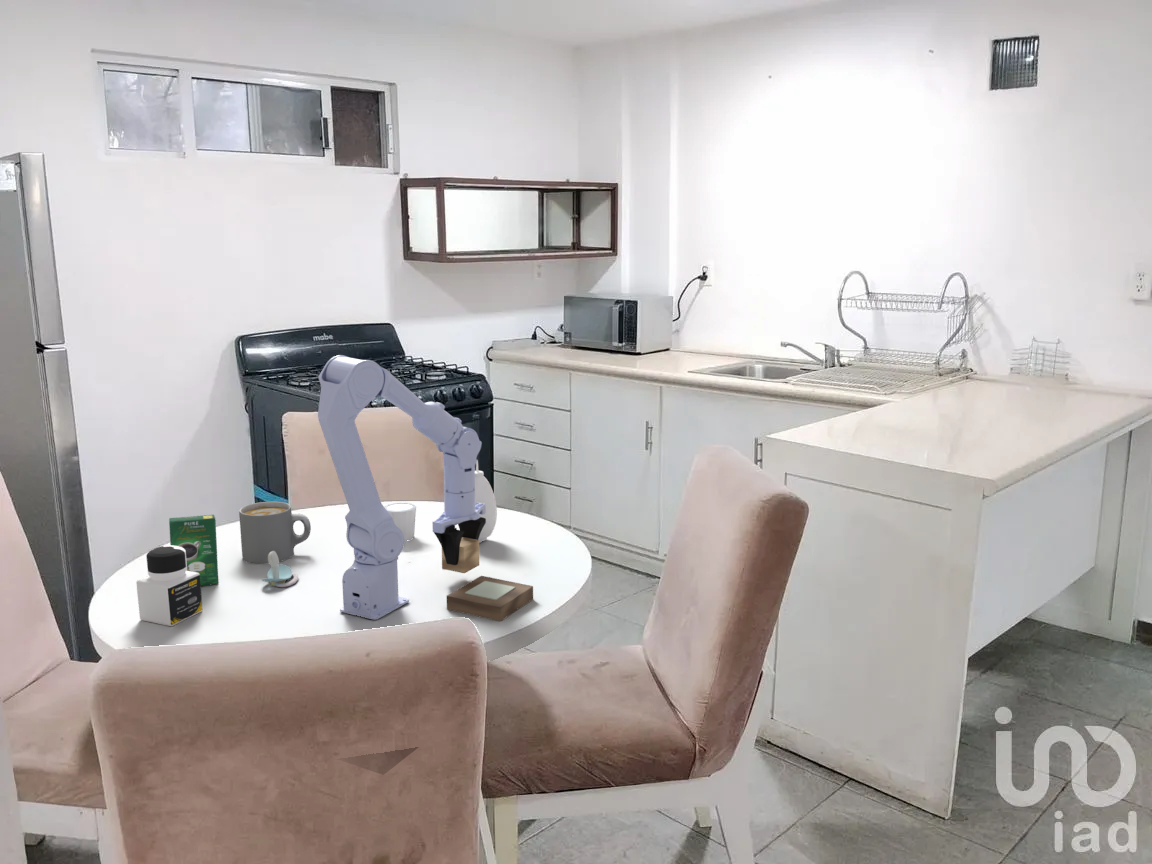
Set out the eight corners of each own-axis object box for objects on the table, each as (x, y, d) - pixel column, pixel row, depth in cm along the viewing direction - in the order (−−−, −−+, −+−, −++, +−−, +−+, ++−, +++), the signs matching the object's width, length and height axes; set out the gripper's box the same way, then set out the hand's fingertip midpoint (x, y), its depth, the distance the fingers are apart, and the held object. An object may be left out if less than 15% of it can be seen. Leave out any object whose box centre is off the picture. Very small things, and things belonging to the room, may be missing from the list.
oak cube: (464, 573, 168) (464, 547, 167) (442, 568, 170) (441, 543, 169) (479, 565, 172) (479, 540, 171) (457, 560, 174) (457, 535, 173)
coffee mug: (236, 564, 180) (232, 516, 178) (250, 548, 189) (246, 501, 187) (305, 563, 181) (302, 514, 179) (315, 546, 190) (313, 500, 188)
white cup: (409, 544, 192) (408, 512, 191) (379, 541, 194) (378, 510, 192) (421, 534, 199) (420, 503, 198) (392, 531, 200) (391, 501, 199)
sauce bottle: (481, 549, 189) (480, 465, 186) (452, 543, 193) (450, 460, 190) (504, 539, 196) (503, 458, 192) (475, 533, 200) (473, 453, 196)
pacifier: (302, 576, 174) (270, 575, 174) (301, 545, 173) (269, 544, 173) (292, 590, 167) (259, 590, 167) (291, 558, 166) (258, 557, 165)
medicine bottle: (171, 627, 150) (165, 558, 148) (139, 620, 153) (132, 552, 150) (203, 611, 157) (198, 545, 154) (171, 605, 159) (166, 539, 157)
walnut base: (500, 621, 153) (500, 606, 153) (446, 609, 158) (446, 594, 158) (533, 599, 163) (533, 585, 162) (481, 588, 168) (481, 574, 167)
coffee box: (219, 579, 172) (214, 512, 169) (220, 584, 169) (215, 516, 166) (173, 585, 169) (167, 517, 166) (173, 590, 166) (167, 521, 163)
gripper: (454, 501, 160) (456, 575, 163) (498, 483, 173) (499, 551, 175) (422, 496, 163) (424, 568, 166) (467, 478, 176) (468, 546, 178)
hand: (460, 559), depth 171 cm, fingers closed on oak cube, 5 cm apart
